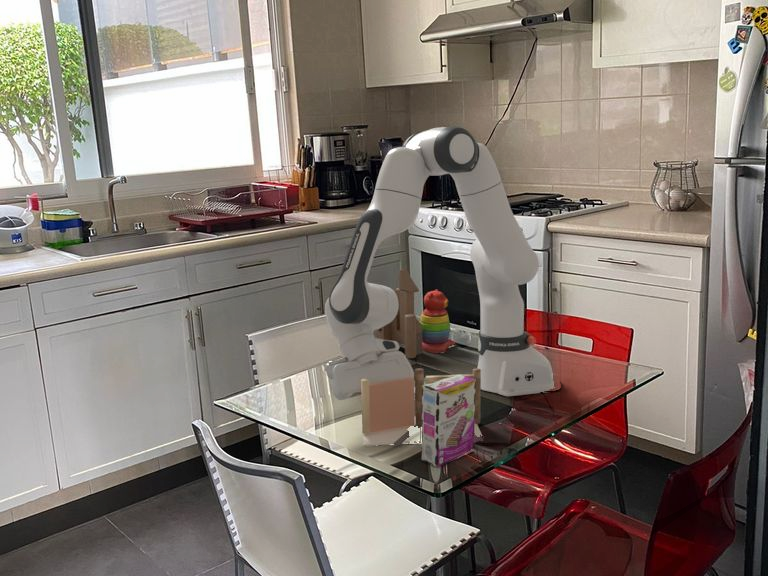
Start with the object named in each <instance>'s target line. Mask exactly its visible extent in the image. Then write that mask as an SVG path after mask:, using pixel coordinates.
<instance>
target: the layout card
mask: <svg viewBox="0 0 768 576" xmlns="http://www.w3.org/2000/svg"><path fill="white" fill-rule="evenodd" d="M412 426H414V427H416V426H417V425H412ZM409 427H410V426H406V427H401V428H395V429H390V430H384V431H379V432H373V433H370V434H363V433H362V438H363V447H365V448H367V447H377V446H376V445H390V444H394V445H393V446H399V445H400V444H402V443H403V442H404V441H405V440H406V439H407V438H409V437H410V436H409V431H408V430H407V429H408V428H409ZM421 427H422V426H418V428H420V441H419V443H421ZM474 433H475V435H476V436H477V437H480V435H481V436H483V434H482V432H481V430H480V428H479V424H474ZM405 443H408V444H409V443H410V442H409V441H405ZM414 443H417V442H416V441H414ZM400 446H401V445H400Z"/></svg>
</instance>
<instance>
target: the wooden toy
mask: <svg viewBox="0 0 768 576" xmlns="http://www.w3.org/2000/svg"><path fill="white" fill-rule="evenodd" d="M394 291H395V292H396V294H397V296H398V299H399V311H398V314H397V316H396V318H395V319H394V320H393V321H392V322H391V323H389V324H388V325H386V326H384V327H382V328H380V329H378V330H376V338H378V339H383V340H390V341H396V342H397V343H398V344H400V343H402V344H403V345H404V348H405V349H404V355H405V356H406V357H407V359H409V358H410V360H411V359H415V358H416V357H417V356H418V355H421V354H422V355H423V349H422V324H421V323H420V321H419V320H418V319H417V316H416V314H415V293H418V292H420V290H419V287H418V286H417V285H416V283H415V281H414V280H413V278H412V276H411V275H410V274H409V272H408V271H407V269H406V268H402V269H399V270H398V288H395V289H394Z"/></svg>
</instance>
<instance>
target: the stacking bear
mask: <svg viewBox="0 0 768 576" xmlns="http://www.w3.org/2000/svg"><path fill="white" fill-rule="evenodd" d="M423 303H424V304H423V305H424V307H425V309H424V310H423V311H422V313H421V314H420V315H421V316H420V321H419V322H420V323H421V324H422V351H425V352H427V353H432V354H439V353H440V354H442V353H441V352H445V353H447V352H446V351H448V349H447V348H448V347H449V346H452V345H454V344H455V343H456V341H455V340H452V339H450V338H449V337H450V333H451V332H450V331H451V323H450V319H449V314H448V311H447V310H446V308H447V307H448V304H449V300H448V298H447V297H446V296H445V294H444V293H443V292H442V291H439V289H435V290H431V291H428V292H427V293H426V294H425V295H424V297H423ZM456 344H457V343H456ZM446 349H447V350H446Z"/></svg>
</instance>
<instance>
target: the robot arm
mask: <svg viewBox="0 0 768 576" xmlns="http://www.w3.org/2000/svg"><path fill="white" fill-rule="evenodd" d="M496 164H497V163H495V161H494V158H493V156H492V154H491V152H490V151H489V149H488V147H487V146H486V145H484V144H483V143H481V142H477V140H476V139H475V137H474V136H473V135H472V134H471V133H470V132H469V131H468V130H467V129H465V128H464V127H461V126H455V125H450V126H447V127H445V126H442V127H439V126H438V127H434V128H430V129H428V130H423V131H418V132H415V133H414V134H412V135H411V136H409V137H408V138H407V139H406V140H405V141H404V142H403V144H402V146H399V147H394V148H392V149H390V150H389V151H388V152H387V153H386V155H385V157H384V159H383V161H382V165H381V167H380V169H379V173H378V176H377V179H376V183H375V188H374V192H373V195H372V199H371V202H370V204H369V206H368V208H367V210H366V211H365V212H363V213H362V214H361V216H360V217H359V219H358V221H357V224H356V226H355V229H354V231H353V234H352V237H351V241H350V244H349V245H348V246H349V247H348V249H347V253H346V255H345V257H344V260H343V264H342V267H341V270H340V272H339V275H338V276H337V279H336V280H335V282H334V284H333V286H332V288H331V290H330V292H329V296H328V298H327V299H326V301H325V304H324V313H325V317H326V322H327V324H328V327H329V330H330V331H331V334H332V336H333V338H334V339H335V340H336V342H337V344H338V350H339V352H340V354H341V357H342V358H339V359H335V360H334V359H332V360H330V361H328V363H326V364H325V366H324V371H325V373H326V375H327V378H328V379H329V382H330V386H331V390H332V393H333V396H334V398H336V399H337V400H338V401H342V400H347V399H351V398H355V397H359V396H361V380H362V379H369V384H371V383H377V382H384V381H390V380H397V379H403V378H410V377H413V378H414V379H415V370H414V369H413V367H412V366H411V365H412V364H411V363H410V361H409V358H406V356H405V353H403V352H402V351H400V350H399V349H400V345H399V344H398V343H397V342H396V341H390V340H383V339H378V338H377V337H375V335H374V332H375V331H377V330H378V329H380V328H382V327H384V326H386V325H388V324H389V323H391V322H392V321H393V320H394V319H395V318H396V316H397V314H398V311H399V299H398V296H397V294H396V292H395V289H393V288H392V287H389V286H386V285H383V284H382V285H381V284H379V283H378V284H377V283H371V282H368V275H369V273H370V270H371V267H372V264H373V261H374V258H375V254H376V251H377V249H378V247H379V246H380V244H381V243H382V242H383V241H384V240H386V239H387V238H388V237H391V236H393V235H398V234H400V233H403V232H406V231H407V230H408V229H410V228H411V227H412V226H413V225H415V222H416V219H417V218H418V215H419V213H420V209H421V208H420V207H421V203H422V198H423V197H422V196H423V191H424V186H425V183H426V181H427V180H428V178H429V177H430V176H444V175H450V177H452V179H453V181H454V183H455V187H456V191H457V193H458V196H459V199H460V203H461V207H462V209H463V212H464V215H465V218H466V221H467V223H468V225H469V227H470V229H472V231H473V233H474V234H475V237H476V239H475V240H474V241H473V243H472V244H471V247H470V249H469V256H470V260H471V263H472V264H473V267H474V271H475V272H474V273H475V279H476V284H477V290H478V296H479V304H480V313H479V315H480V327H479V328H480V329H479V330H478V337H477V342H478V343H477V350H478V351H477V352H478V362H477V368H478V369H481V391H485V392H489V393H490V392H491V393H494V394H498V395H502V396H505V397H514V396H515V397H516V396H523V395H524V396H525V395H532V394H541V393H540V392H543V393H545V392H544V391H548V390H550V389H553V388H555V387H554V381H553V374H554V373H553V369H552V364H551V362H550V360H549V359H548V358H547V357H546V356H545V355H543V354H542V353H541V352H539V351H538V350H537V349H535V348H534V347H533V346H534V345H535V344H537V339H536V338H535V337H534V336H533V335H531V334H530V333H528V332H527V331H526V330H525V331H524V327H525V326H524V324H525V322H524V319H525V317H524V315H525V302H524V300H523V297H522V295H521V292H520V288H519V286H520V285H521V286H522V285H524V284H527V283H529V282H531V281H532V280H533V279H534V278H535V277H536V275H537V274H538V271H539V268H540V260H539V257H538V254H537V252H536V251H535V250H534V249H533V248H532V246H531V245H530V244H529V242H528V240H527V238H526V236H525V234H524V232H523V230H522V228H521V226H520V224H519V223H518V221H517V219H516V217H515V215H514V213H513V210H512V209H511V205H510V202H509V200H508V199H509V198H508V197H507V193H506V190H505V187H504V184H503V181H502V178H501V175H500V172H499V170H498V167H497V165H496Z"/></svg>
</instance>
